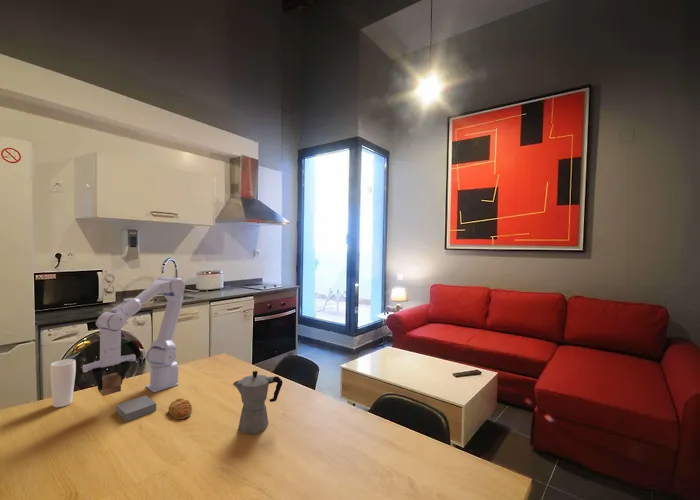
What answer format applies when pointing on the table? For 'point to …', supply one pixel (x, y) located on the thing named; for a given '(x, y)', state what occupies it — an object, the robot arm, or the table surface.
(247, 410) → the coffeepot
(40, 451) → the table surface
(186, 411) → the pastry
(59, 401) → the drinking glass
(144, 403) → the block
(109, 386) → the walnut cube
